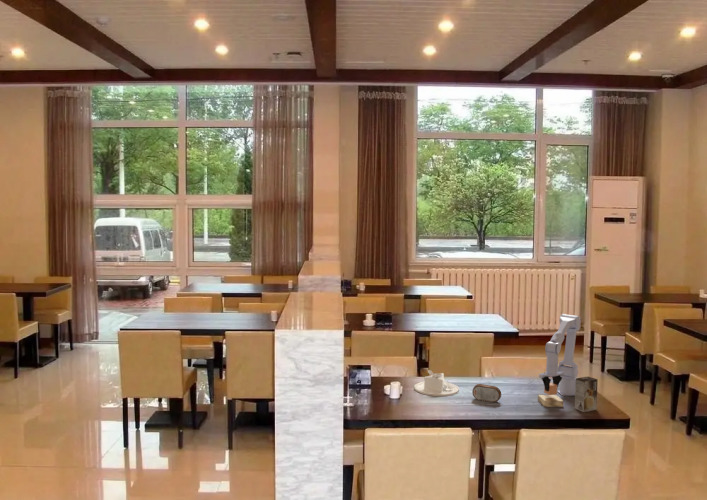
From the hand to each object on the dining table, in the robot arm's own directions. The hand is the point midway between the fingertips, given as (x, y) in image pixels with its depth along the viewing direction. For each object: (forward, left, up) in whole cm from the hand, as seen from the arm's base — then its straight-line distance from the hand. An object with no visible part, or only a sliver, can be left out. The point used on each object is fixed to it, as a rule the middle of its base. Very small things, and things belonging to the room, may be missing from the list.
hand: (550, 390), depth 338 cm
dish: (+56, -24, -8) cm, 61 cm away
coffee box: (-15, +9, -7) cm, 19 cm away
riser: (0, 0, -7) cm, 7 cm away
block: (0, 0, -2) cm, 2 cm away
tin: (+33, -4, -7) cm, 34 cm away
